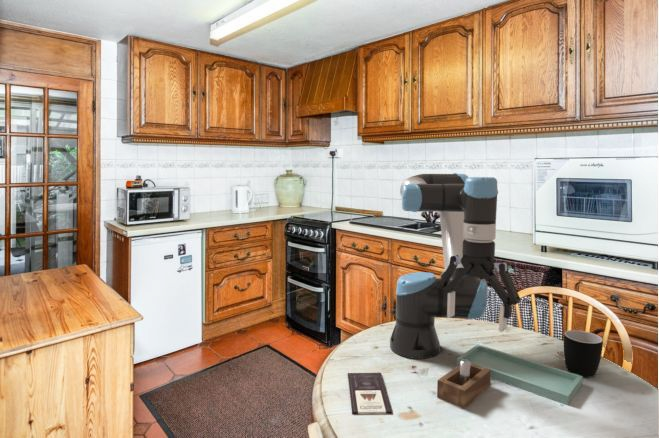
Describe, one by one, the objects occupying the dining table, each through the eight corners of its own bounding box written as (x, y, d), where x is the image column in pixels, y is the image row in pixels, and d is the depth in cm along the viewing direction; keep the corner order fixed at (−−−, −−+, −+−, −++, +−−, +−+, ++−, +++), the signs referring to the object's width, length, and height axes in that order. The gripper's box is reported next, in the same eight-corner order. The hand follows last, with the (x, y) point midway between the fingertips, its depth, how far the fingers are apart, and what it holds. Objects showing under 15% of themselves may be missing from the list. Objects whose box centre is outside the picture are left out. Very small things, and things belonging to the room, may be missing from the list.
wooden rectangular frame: (437, 397, 99) (437, 380, 99) (467, 374, 110) (467, 358, 110) (464, 409, 94) (464, 390, 94) (492, 384, 105) (493, 367, 105)
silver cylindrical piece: (455, 391, 102) (456, 361, 101) (461, 387, 104) (462, 357, 103) (467, 396, 99) (468, 365, 98) (473, 391, 102) (474, 361, 101)
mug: (607, 381, 106) (610, 344, 105) (570, 379, 108) (572, 342, 106) (585, 360, 118) (587, 326, 117) (552, 358, 119) (554, 325, 118)
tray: (456, 365, 115) (457, 358, 115) (477, 351, 125) (477, 344, 124) (567, 405, 96) (567, 396, 95) (582, 384, 105) (582, 376, 105)
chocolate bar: (380, 372, 111) (391, 411, 93) (380, 375, 111) (391, 415, 93) (347, 373, 110) (352, 412, 93) (347, 376, 111) (352, 415, 93)
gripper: (426, 236, 106) (424, 314, 109) (526, 248, 89) (521, 341, 92) (440, 232, 112) (438, 307, 114) (538, 244, 94) (533, 331, 97)
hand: (475, 322), depth 103 cm, fingers open, 13 cm apart
